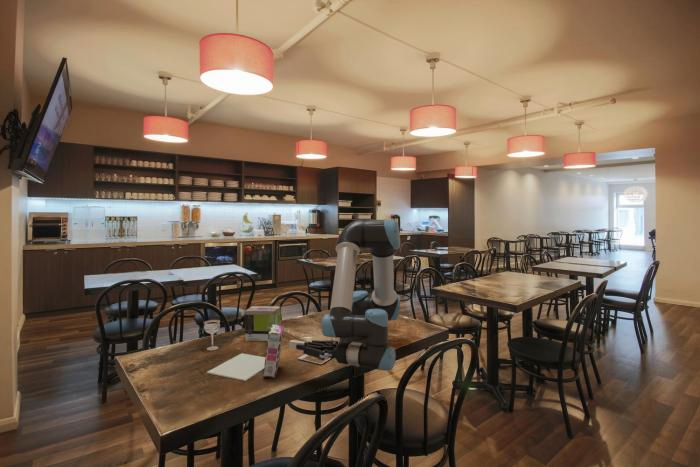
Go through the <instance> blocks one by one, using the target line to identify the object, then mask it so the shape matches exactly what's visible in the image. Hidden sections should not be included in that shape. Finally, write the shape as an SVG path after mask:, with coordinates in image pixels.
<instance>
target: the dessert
mask: <svg viewBox="0 0 700 467" xmlns="http://www.w3.org/2000/svg"><path fill="white" fill-rule="evenodd" d="M308 356H309V355H306V354H304V353H303V355H301V356H299V357H297V359H298V360H301V361H305V362H309V363H314V364H317V365H323V364H324V363H325V362H328V360H330V359H332V358H328V359H325V360H323V362H321V363H319V362H316V360H321V359H319V358H316V357H313V356H311V359H312V360H315V361H312V360H309V359H308V360H307V359H305V358H306V357H308Z"/></svg>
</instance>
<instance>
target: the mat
mask: <svg viewBox="0 0 700 467" xmlns="http://www.w3.org/2000/svg"><path fill="white" fill-rule="evenodd" d="M265 358H266V356H259V355H253V354H248V353H243V352H241V353H240V354H237V355H236V356H233V357H232V358H230V359H228V360H227V361H225V362H223V363H221V364H219V365H217V366H215V367H214V368H212V369H210V370H208V371H206V374H208V375H214V376H218V377H224V378H228V379H234V380H237V381H242V380H243V382H247V381H249V380H250V379H252V378H253V377H255V376H256V375H258V374H259V373H261V372H263V371H264V365H265ZM248 379H249V380H248Z"/></svg>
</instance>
